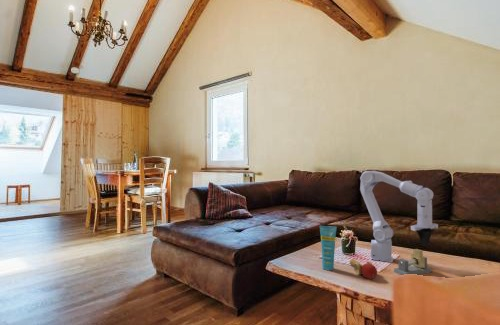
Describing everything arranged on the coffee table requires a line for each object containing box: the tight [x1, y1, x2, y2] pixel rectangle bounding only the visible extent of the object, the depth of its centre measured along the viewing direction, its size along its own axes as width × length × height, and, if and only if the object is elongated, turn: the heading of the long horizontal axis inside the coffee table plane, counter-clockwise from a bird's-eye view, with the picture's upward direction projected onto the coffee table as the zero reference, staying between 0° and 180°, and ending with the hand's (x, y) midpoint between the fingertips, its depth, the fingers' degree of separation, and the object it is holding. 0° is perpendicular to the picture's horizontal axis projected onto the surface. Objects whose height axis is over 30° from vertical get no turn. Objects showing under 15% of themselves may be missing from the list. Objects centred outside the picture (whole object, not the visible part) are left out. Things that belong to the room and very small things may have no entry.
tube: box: [319, 225, 337, 271], centre depth 131 cm, size 7×5×19 cm, turn 73°
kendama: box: [349, 258, 378, 280], centre depth 127 cm, size 8×6×18 cm
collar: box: [410, 248, 426, 268], centre depth 128 cm, size 2×5×7 cm, turn 20°
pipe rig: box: [393, 256, 433, 276], centre depth 127 cm, size 15×6×6 cm, turn 111°
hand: (424, 245), depth 131 cm, fingers closed
